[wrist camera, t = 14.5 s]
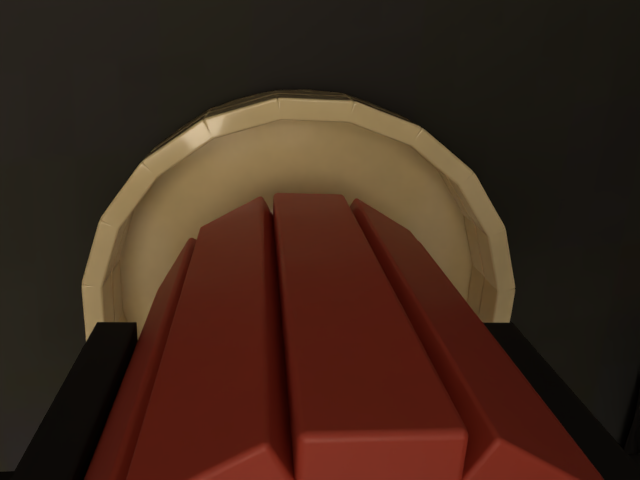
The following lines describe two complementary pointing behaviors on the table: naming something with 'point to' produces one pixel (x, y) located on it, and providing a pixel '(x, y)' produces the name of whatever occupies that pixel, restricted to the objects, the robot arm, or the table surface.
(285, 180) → the dish
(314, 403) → the red grooved hollow cylinder
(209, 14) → the table surface
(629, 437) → the toy car
